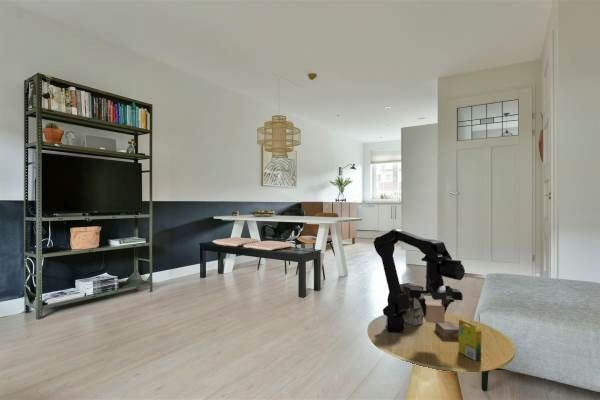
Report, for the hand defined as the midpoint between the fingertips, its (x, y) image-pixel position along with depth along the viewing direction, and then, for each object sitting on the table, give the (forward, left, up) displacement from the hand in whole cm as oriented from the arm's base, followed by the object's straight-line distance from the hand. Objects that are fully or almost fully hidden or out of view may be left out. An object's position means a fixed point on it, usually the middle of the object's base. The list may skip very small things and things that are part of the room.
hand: (433, 316), depth 126 cm
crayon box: (+11, -7, -11) cm, 17 cm away
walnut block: (+11, +12, -11) cm, 20 cm away
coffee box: (-2, +25, -11) cm, 28 cm away
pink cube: (0, 0, -1) cm, 1 cm away
